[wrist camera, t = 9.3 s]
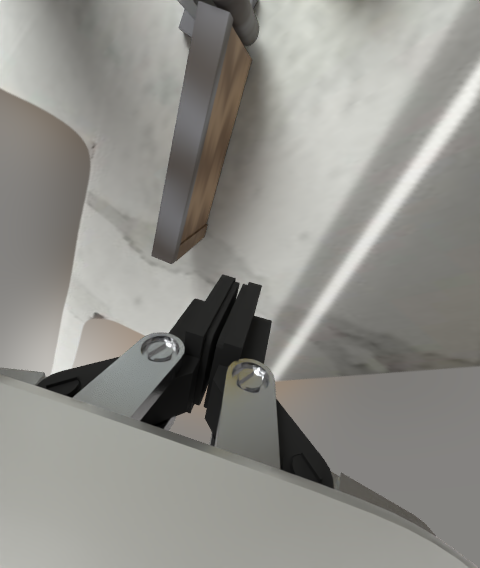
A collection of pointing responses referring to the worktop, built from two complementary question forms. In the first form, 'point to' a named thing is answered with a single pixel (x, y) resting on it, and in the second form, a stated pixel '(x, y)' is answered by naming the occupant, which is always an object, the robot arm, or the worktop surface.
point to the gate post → (194, 14)
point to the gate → (204, 122)
